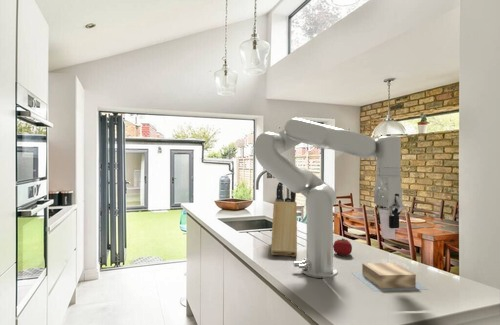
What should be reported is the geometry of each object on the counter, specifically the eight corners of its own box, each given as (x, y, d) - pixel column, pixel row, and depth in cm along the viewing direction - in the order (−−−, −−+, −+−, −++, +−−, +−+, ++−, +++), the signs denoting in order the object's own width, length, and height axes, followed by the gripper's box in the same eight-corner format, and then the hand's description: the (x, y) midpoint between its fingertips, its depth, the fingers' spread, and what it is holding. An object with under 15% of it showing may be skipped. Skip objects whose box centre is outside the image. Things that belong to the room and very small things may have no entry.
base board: (374, 292, 95) (374, 291, 95) (351, 274, 111) (351, 273, 111) (428, 291, 97) (428, 289, 97) (398, 273, 113) (398, 271, 113)
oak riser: (380, 288, 97) (380, 275, 97) (362, 274, 109) (362, 263, 109) (415, 287, 99) (415, 274, 99) (394, 273, 111) (394, 262, 111)
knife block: (295, 239, 164) (295, 181, 164) (297, 259, 129) (298, 185, 129) (274, 238, 165) (274, 181, 166) (270, 257, 130) (271, 184, 131)
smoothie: (392, 235, 107) (392, 195, 108) (402, 239, 101) (402, 197, 101) (374, 235, 107) (374, 195, 107) (383, 239, 101) (383, 197, 101)
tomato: (351, 258, 131) (352, 241, 132) (332, 256, 134) (332, 239, 134) (352, 253, 139) (352, 237, 139) (333, 251, 142) (333, 235, 142)
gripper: (365, 172, 113) (365, 221, 112) (392, 173, 95) (392, 231, 95) (385, 172, 113) (384, 221, 113) (414, 173, 96) (414, 231, 96)
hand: (388, 225), depth 104 cm, fingers closed on smoothie, 6 cm apart
